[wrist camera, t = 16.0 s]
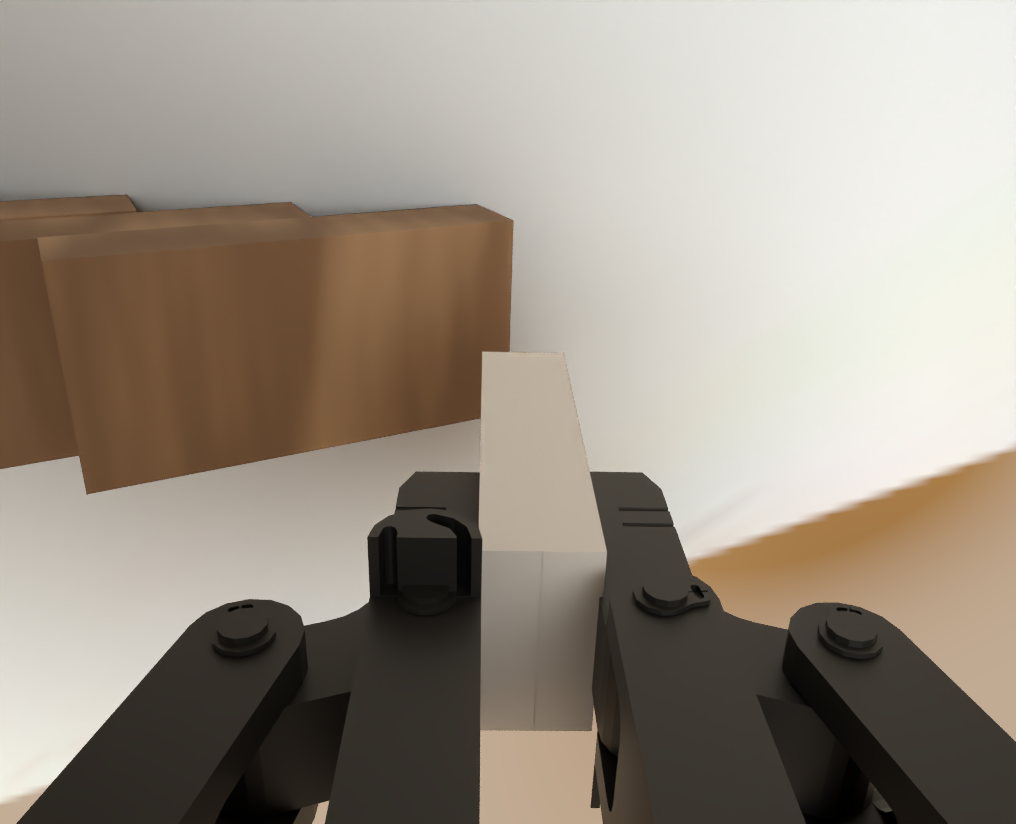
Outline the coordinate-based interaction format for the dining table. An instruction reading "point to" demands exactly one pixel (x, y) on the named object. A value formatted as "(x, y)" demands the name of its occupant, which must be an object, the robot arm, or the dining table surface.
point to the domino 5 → (273, 335)
